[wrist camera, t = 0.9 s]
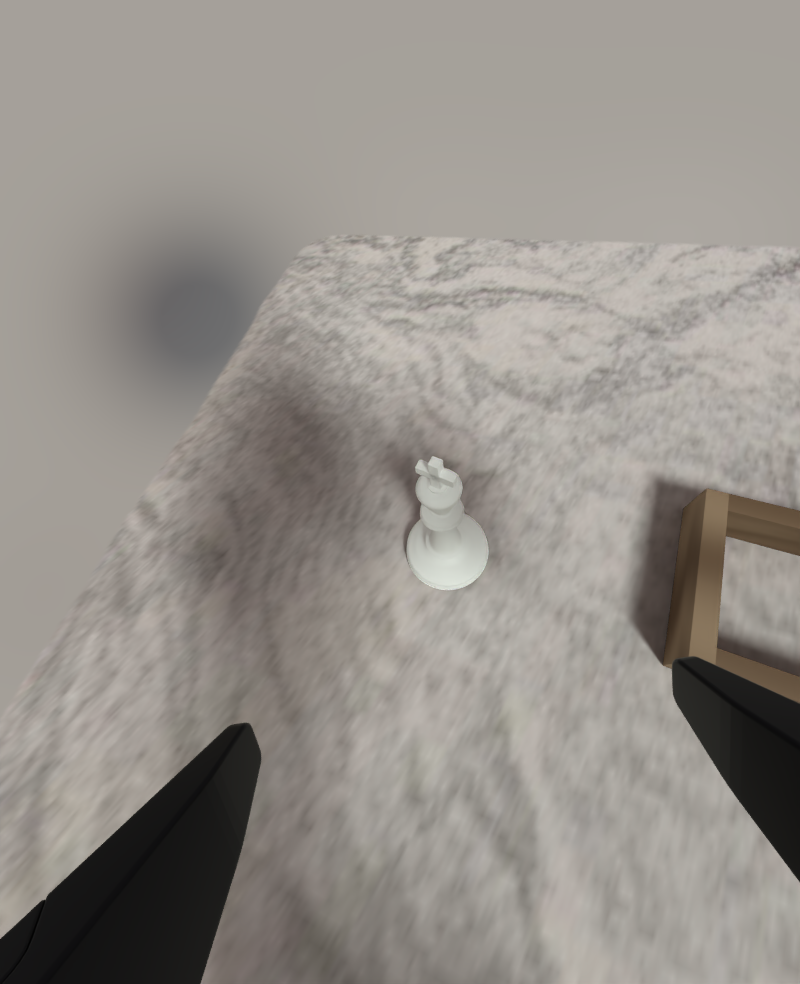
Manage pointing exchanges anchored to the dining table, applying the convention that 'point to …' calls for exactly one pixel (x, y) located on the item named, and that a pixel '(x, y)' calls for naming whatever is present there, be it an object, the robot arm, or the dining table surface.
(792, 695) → the socket frame
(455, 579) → the chess piece
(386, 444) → the dining table surface
